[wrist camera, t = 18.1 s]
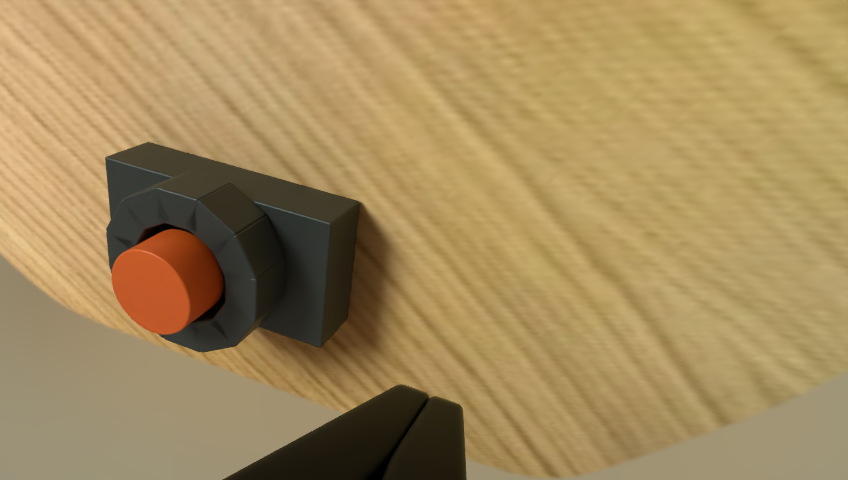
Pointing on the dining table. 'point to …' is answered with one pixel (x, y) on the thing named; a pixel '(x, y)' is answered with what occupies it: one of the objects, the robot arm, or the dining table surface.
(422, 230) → the dining table surface
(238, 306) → the control block
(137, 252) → the button
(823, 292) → the dining table surface
